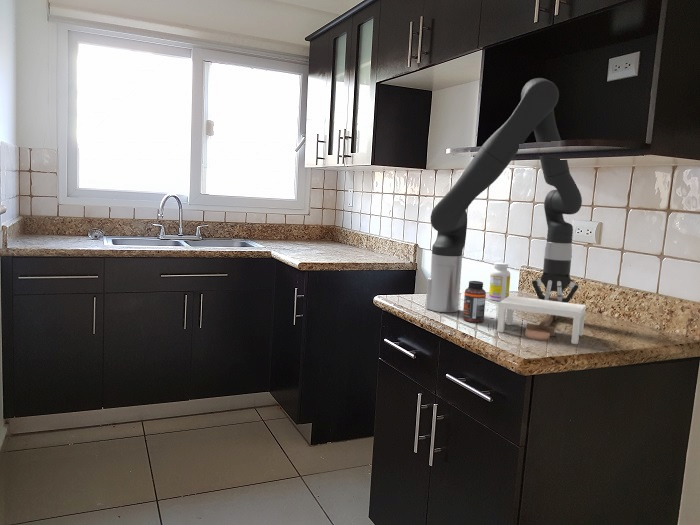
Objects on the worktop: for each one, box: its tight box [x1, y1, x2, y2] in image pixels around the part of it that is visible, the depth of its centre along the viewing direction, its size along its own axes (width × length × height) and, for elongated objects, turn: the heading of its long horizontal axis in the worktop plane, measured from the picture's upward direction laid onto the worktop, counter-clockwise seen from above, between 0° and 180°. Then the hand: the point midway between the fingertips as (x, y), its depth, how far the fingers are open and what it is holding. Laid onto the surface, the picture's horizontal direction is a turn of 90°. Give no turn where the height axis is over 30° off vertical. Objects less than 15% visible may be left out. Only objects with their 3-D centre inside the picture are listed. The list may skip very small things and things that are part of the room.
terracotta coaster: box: [524, 329, 551, 341], centre depth 146 cm, size 6×6×2 cm
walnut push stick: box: [525, 295, 559, 337], centre depth 161 cm, size 7×29×6 cm, turn 153°
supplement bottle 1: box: [462, 280, 487, 324], centre depth 160 cm, size 6×6×11 cm
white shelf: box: [496, 295, 586, 345], centre depth 149 cm, size 20×12×8 cm, turn 62°
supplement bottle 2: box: [488, 262, 511, 302], centre depth 196 cm, size 7×7×13 cm
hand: (552, 314), depth 169 cm, fingers closed on walnut push stick, 2 cm apart
